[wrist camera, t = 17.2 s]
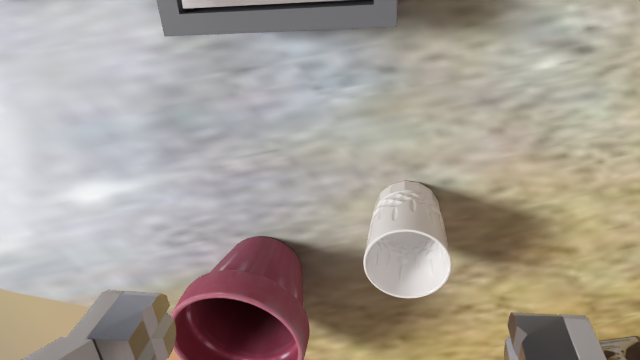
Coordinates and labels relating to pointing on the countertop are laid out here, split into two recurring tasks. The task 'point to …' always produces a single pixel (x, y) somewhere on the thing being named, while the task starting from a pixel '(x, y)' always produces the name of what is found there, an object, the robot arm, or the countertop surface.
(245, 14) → the scale housing
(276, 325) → the plant pot
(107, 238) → the countertop surface
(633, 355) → the coffee box
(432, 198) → the white cup
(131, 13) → the countertop surface
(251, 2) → the pan
